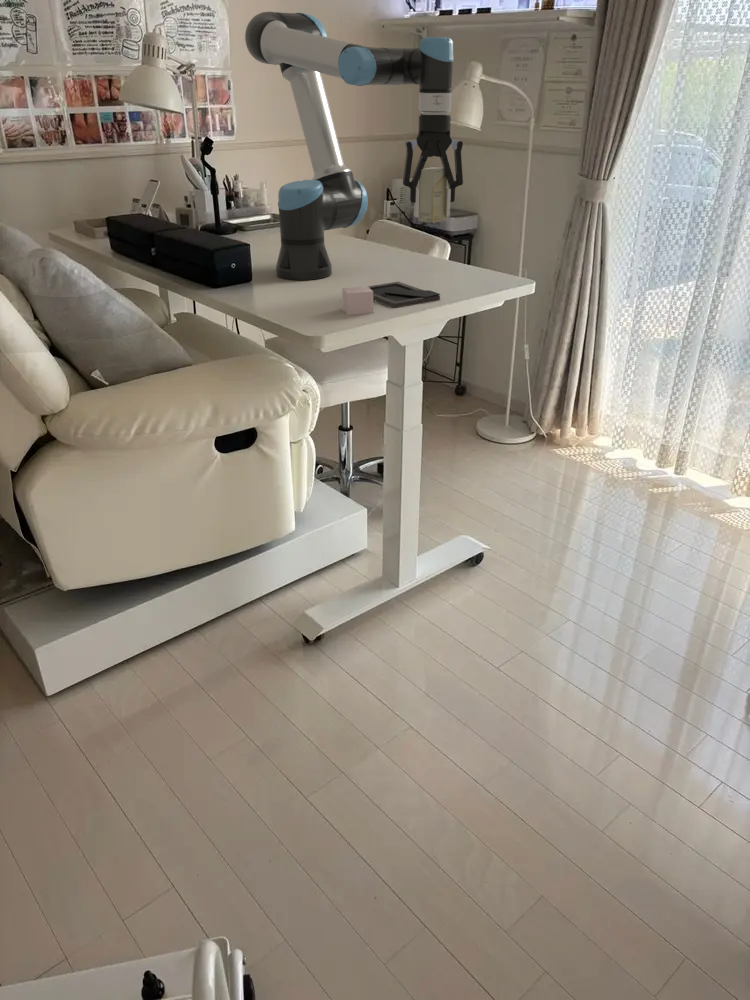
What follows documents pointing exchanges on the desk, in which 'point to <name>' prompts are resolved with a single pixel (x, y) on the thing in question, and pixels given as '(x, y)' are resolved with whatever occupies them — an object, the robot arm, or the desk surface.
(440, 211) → the skincare box
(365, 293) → the pink box
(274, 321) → the desk surface
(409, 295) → the picture frame
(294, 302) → the desk surface
